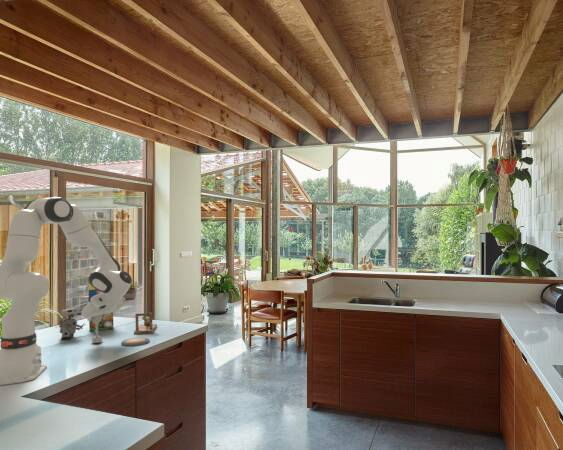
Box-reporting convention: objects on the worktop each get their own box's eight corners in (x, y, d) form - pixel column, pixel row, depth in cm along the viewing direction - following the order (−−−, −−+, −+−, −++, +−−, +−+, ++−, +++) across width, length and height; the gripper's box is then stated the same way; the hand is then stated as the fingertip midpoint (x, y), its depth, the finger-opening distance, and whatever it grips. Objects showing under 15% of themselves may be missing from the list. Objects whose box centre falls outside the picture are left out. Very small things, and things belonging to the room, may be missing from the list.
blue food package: (89, 329, 239) (88, 284, 239) (112, 326, 245) (111, 282, 245) (89, 331, 234) (88, 285, 234) (113, 328, 239) (112, 283, 239)
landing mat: (151, 344, 205) (150, 342, 205) (121, 347, 200) (121, 345, 200) (148, 337, 217) (148, 336, 217) (120, 341, 212) (120, 339, 212)
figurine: (82, 338, 219) (82, 309, 219) (57, 340, 216) (57, 310, 216) (85, 334, 228) (85, 306, 228) (61, 336, 225) (61, 307, 225)
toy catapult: (140, 327, 241) (139, 309, 241) (156, 326, 242) (156, 308, 242) (134, 334, 225) (133, 315, 225) (151, 333, 226) (151, 314, 226)
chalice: (98, 343, 205) (97, 305, 206) (85, 343, 207) (85, 305, 207) (107, 339, 212) (107, 303, 213) (95, 339, 214) (94, 302, 214)
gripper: (123, 291, 216) (109, 310, 220) (88, 297, 198) (74, 317, 202) (129, 301, 214) (116, 319, 218) (95, 307, 196) (81, 327, 200)
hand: (95, 318), depth 210 cm, fingers closed on chalice, 6 cm apart
